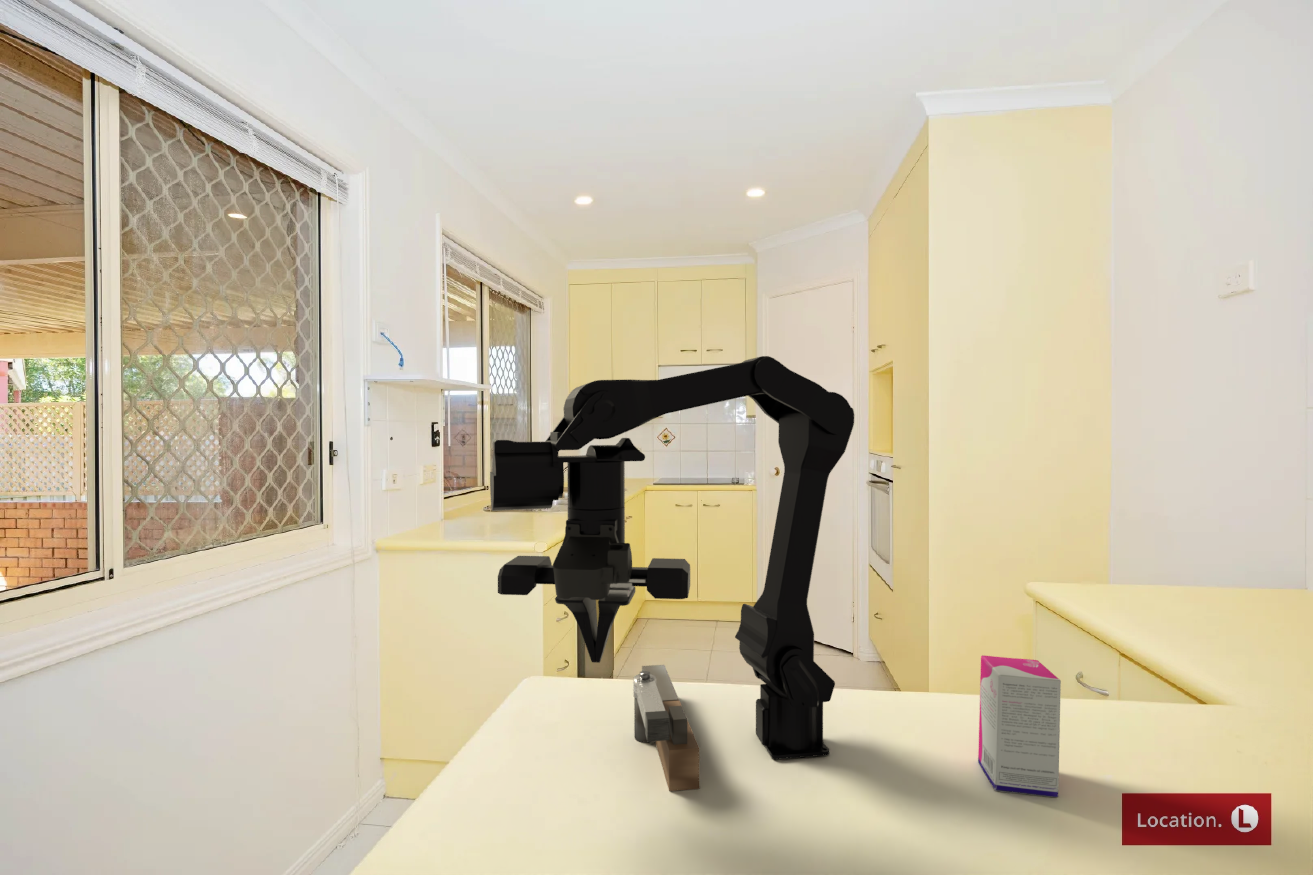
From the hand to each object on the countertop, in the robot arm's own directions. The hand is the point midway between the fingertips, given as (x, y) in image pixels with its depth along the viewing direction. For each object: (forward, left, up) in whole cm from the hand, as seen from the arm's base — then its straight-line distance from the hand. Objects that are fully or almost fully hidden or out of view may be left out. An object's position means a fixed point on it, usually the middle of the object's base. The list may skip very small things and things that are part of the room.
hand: (596, 661), depth 63 cm
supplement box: (-42, +6, -12) cm, 44 cm away
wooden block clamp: (-7, -8, -12) cm, 16 cm away
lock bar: (-6, -3, -7) cm, 10 cm away
